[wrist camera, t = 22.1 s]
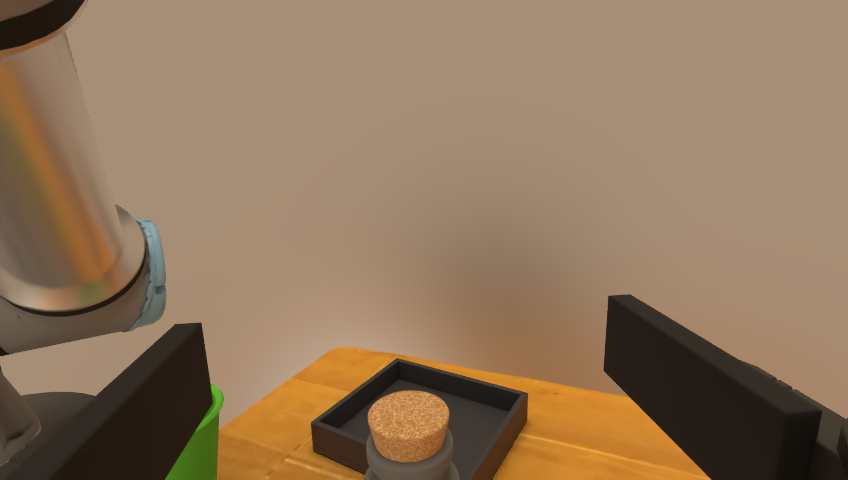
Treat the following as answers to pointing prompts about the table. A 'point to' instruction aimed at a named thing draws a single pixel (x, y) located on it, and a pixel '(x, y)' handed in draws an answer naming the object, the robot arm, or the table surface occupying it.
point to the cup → (201, 447)
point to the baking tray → (468, 421)
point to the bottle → (410, 438)
